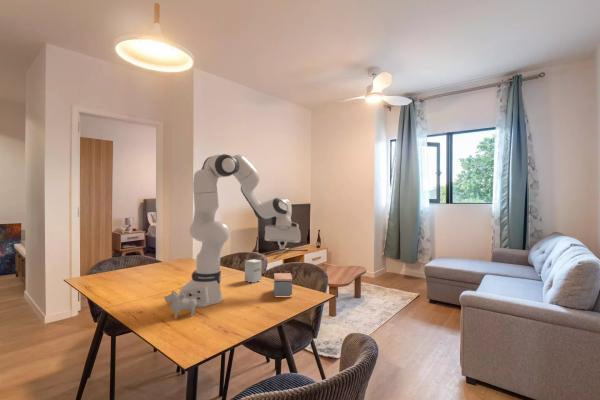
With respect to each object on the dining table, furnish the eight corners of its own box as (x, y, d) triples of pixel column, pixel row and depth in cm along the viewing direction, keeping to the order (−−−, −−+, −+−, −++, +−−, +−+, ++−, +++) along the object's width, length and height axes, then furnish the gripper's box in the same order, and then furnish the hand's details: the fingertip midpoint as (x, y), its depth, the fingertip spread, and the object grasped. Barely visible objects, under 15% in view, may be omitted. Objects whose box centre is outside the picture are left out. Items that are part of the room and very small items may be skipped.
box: (274, 297, 153) (274, 281, 153) (273, 289, 166) (274, 275, 166) (291, 297, 154) (292, 281, 154) (290, 289, 167) (290, 275, 167)
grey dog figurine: (164, 315, 127) (164, 290, 127) (195, 311, 132) (196, 287, 132) (163, 320, 122) (164, 294, 122) (196, 316, 127) (197, 291, 127)
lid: (274, 281, 153) (274, 279, 153) (274, 275, 166) (274, 273, 166) (292, 281, 154) (292, 279, 154) (290, 275, 167) (290, 273, 167)
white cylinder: (252, 283, 177) (253, 262, 177) (244, 281, 182) (244, 260, 182) (261, 281, 183) (262, 260, 183) (253, 279, 188) (253, 258, 188)
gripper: (265, 222, 169) (263, 245, 162) (301, 224, 171) (300, 247, 164) (265, 226, 175) (263, 249, 168) (300, 229, 176) (299, 251, 169)
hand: (282, 248), depth 166 cm, fingers closed
